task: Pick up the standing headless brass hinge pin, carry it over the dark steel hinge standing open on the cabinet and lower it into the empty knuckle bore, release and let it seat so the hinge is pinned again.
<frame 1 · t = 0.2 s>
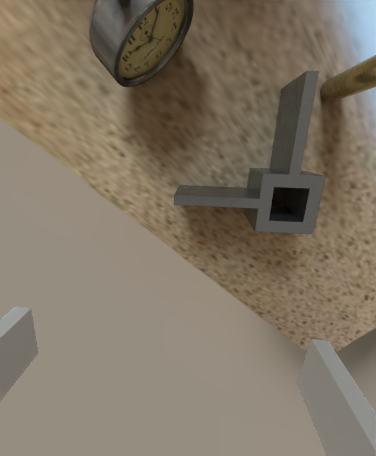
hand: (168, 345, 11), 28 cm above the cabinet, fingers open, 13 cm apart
hinge pin: (331, 90, 31), on the cabinet
alarm clock: (152, 51, 31), on the cabinet
hinge leaves: (270, 192, 36), on the cabinet
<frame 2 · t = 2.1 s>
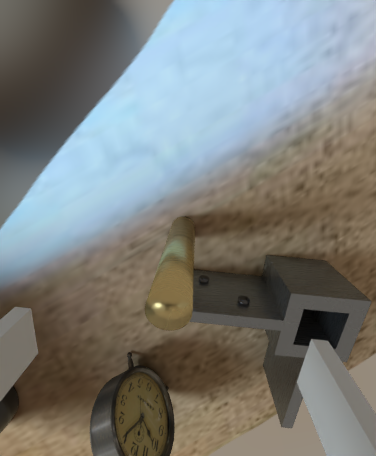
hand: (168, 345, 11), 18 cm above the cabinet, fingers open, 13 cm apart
hinge pin: (183, 228, 28), on the cabinet
alarm clock: (144, 372, 36), on the cabinet
hinge leaves: (289, 283, 30), on the cabinet
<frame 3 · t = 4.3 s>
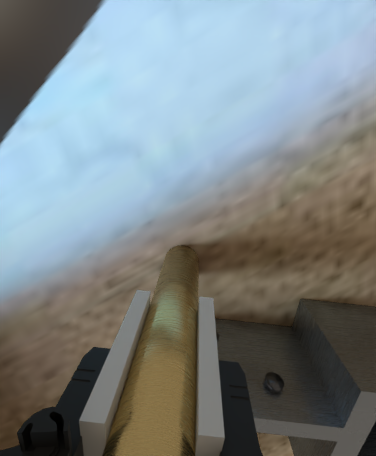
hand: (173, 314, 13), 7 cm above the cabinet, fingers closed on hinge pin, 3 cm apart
hinge pin: (181, 261, 19), on the cabinet, touching gripper
hinge leaves: (330, 336, 21), on the cabinet
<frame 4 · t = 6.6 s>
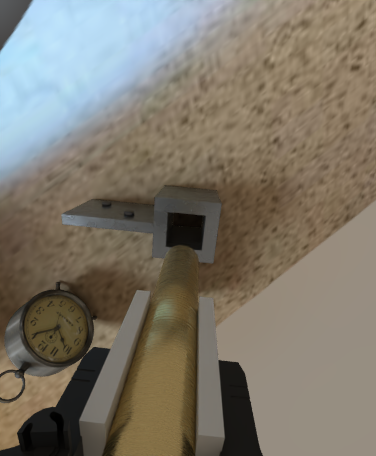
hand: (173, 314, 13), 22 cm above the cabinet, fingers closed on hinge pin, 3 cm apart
hinge pin: (181, 260, 19), point 15 cm above the cabinet, touching gripper
alarm clock: (74, 302, 40), on the cabinet
hinge leaves: (188, 212, 34), on the cabinet
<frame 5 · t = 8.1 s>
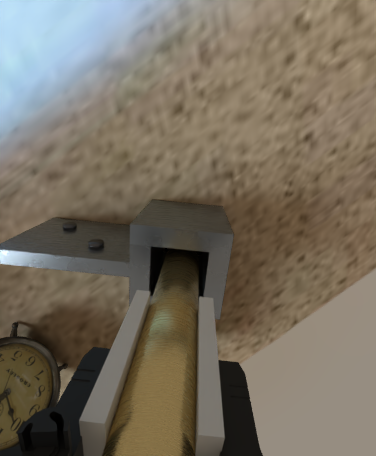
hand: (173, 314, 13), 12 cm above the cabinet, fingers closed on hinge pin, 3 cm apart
hinge pin: (181, 260, 19), point 6 cm above the cabinet, touching gripper
alarm clock: (39, 346, 31), on the cabinet
hinge leaves: (184, 236, 25), on the cabinet
when the fingers open (9 cm above the cabinet, at t = 9.2 s): hinge pin drops 3 cm, resting in hinge leaves.
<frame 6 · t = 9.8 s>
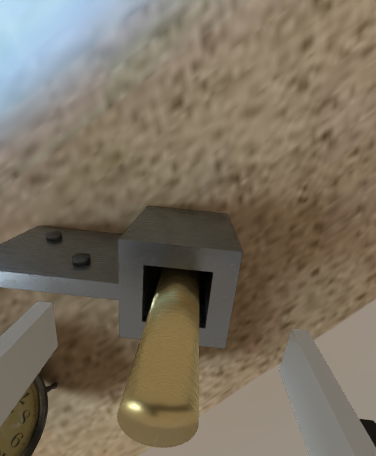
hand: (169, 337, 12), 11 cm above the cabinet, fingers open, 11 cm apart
hinge pin: (184, 246, 22), resting in hinge leaves
alarm clock: (26, 364, 29), on the cabinet
hinge leaves: (184, 246, 22), on the cabinet
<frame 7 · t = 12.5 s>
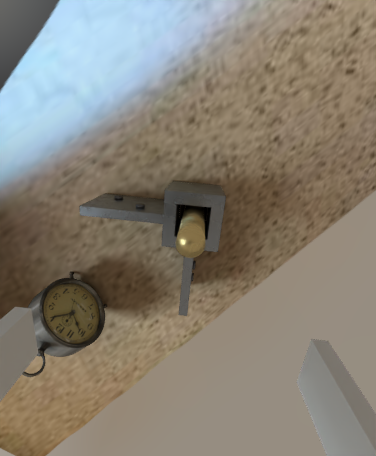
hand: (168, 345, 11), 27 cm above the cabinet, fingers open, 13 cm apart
hinge pin: (194, 206, 36), resting in hinge leaves
alarm clock: (86, 291, 43), on the cabinet
hinge leaves: (194, 206, 36), on the cabinet
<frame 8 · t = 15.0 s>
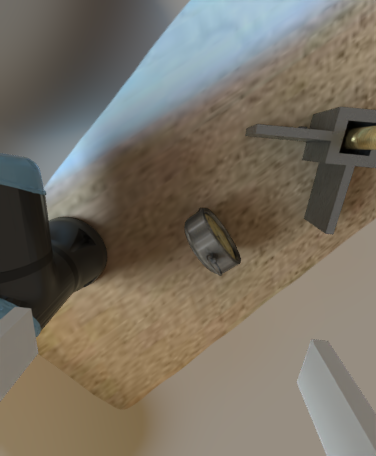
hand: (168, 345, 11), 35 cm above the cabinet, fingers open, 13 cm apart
hinge pin: (329, 139, 40), resting in hinge leaves
alarm clock: (209, 228, 46), on the cabinet
hinge leaves: (328, 140, 40), on the cabinet
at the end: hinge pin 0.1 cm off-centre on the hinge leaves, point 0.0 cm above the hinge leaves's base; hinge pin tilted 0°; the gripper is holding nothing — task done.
